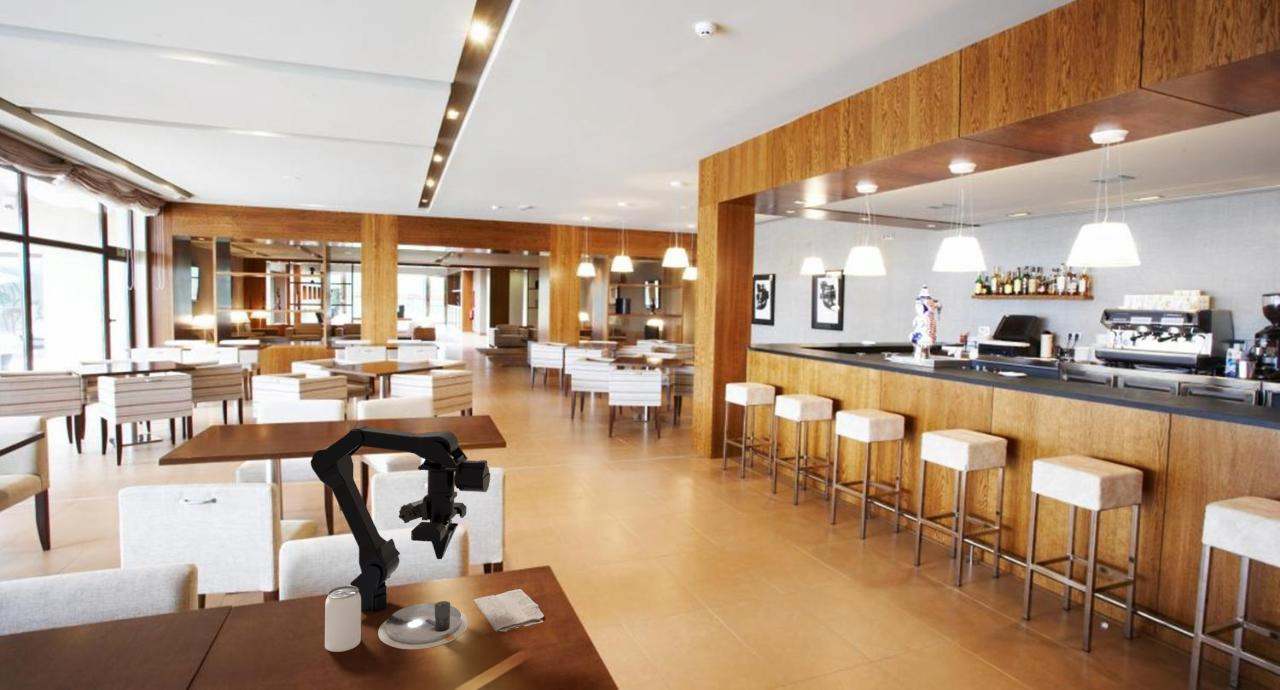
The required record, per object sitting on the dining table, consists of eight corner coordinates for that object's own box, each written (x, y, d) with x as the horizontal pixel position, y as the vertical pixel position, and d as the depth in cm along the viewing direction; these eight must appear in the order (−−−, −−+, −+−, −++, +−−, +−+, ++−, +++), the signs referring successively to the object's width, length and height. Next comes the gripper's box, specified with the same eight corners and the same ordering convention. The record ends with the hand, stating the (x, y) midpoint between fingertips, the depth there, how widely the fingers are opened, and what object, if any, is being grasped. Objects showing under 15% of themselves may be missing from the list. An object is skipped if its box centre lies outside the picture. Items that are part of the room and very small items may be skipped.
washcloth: (497, 643, 135) (497, 628, 135) (469, 607, 151) (470, 594, 150) (549, 629, 142) (549, 615, 142) (518, 597, 157) (518, 584, 157)
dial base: (359, 637, 135) (360, 628, 135) (431, 605, 150) (431, 598, 150) (414, 666, 125) (415, 657, 125) (485, 629, 140) (485, 621, 140)
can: (346, 661, 126) (347, 600, 125) (317, 656, 127) (317, 596, 126) (367, 644, 132) (368, 586, 131) (339, 640, 133) (339, 583, 133)
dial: (371, 628, 135) (371, 597, 135) (432, 603, 148) (432, 575, 147) (414, 652, 127) (415, 620, 126) (475, 623, 139) (476, 594, 138)
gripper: (421, 476, 153) (420, 541, 154) (387, 500, 135) (386, 573, 135) (467, 479, 153) (466, 544, 154) (440, 502, 134) (438, 576, 135)
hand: (439, 558), depth 144 cm, fingers closed
